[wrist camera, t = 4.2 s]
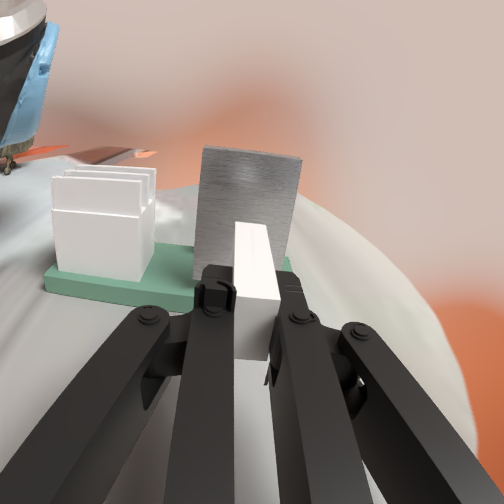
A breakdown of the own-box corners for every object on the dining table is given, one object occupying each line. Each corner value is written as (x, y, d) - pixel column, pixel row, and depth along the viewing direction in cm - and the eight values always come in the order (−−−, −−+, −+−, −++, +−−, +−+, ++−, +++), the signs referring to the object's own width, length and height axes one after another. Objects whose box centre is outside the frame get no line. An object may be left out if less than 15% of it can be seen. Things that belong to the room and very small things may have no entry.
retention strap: (191, 291, 23) (203, 147, 18) (197, 264, 26) (209, 140, 22) (275, 299, 23) (302, 160, 19) (270, 272, 27) (292, 151, 23)
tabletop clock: (-21, 172, 52) (-19, 66, 41) (7, 163, 60) (11, 64, 49) (5, 177, 49) (9, 54, 38) (37, 168, 57) (43, 55, 46)
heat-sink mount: (46, 291, 22) (31, 181, 18) (83, 248, 29) (79, 159, 25) (298, 323, 24) (327, 209, 20) (285, 270, 31) (303, 179, 27)
